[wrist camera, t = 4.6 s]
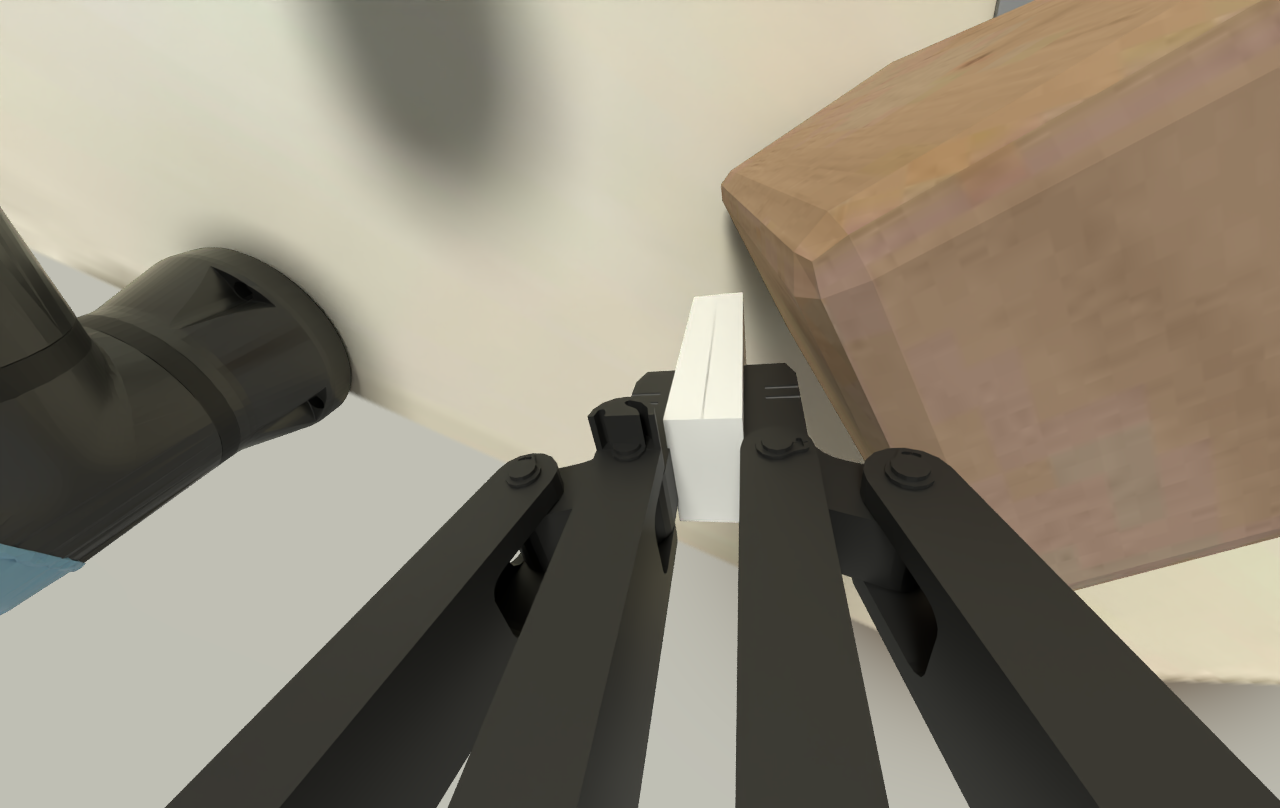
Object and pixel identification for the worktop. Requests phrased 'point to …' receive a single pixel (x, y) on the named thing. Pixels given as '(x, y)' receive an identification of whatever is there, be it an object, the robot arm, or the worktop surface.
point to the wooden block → (1052, 270)
